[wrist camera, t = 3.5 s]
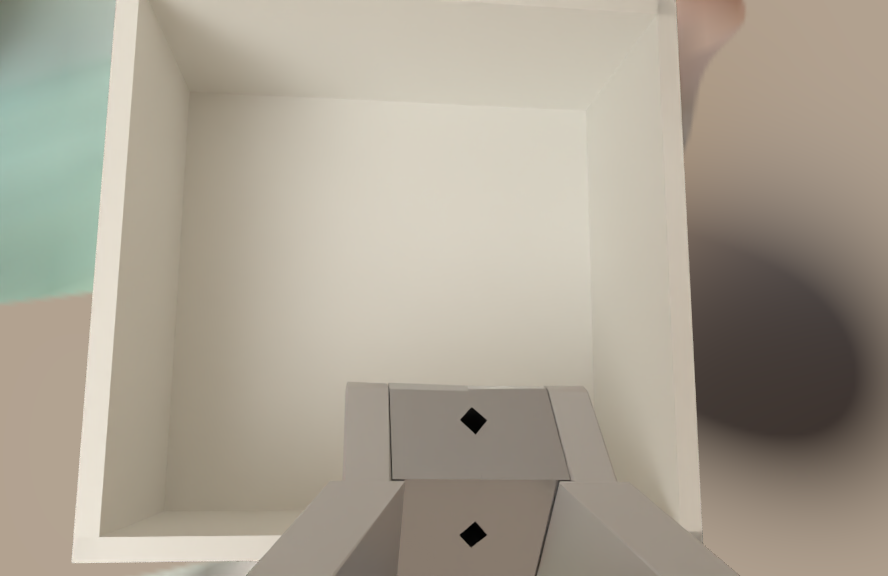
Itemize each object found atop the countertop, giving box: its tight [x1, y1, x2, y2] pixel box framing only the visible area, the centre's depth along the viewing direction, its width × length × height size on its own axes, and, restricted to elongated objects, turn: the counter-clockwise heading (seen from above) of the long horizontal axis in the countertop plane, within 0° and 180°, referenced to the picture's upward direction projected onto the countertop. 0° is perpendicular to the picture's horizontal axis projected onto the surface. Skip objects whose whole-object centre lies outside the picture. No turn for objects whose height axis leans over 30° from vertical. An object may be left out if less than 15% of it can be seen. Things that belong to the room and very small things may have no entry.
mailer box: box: [72, 0, 703, 563], centre depth 27 cm, size 16×16×8 cm
